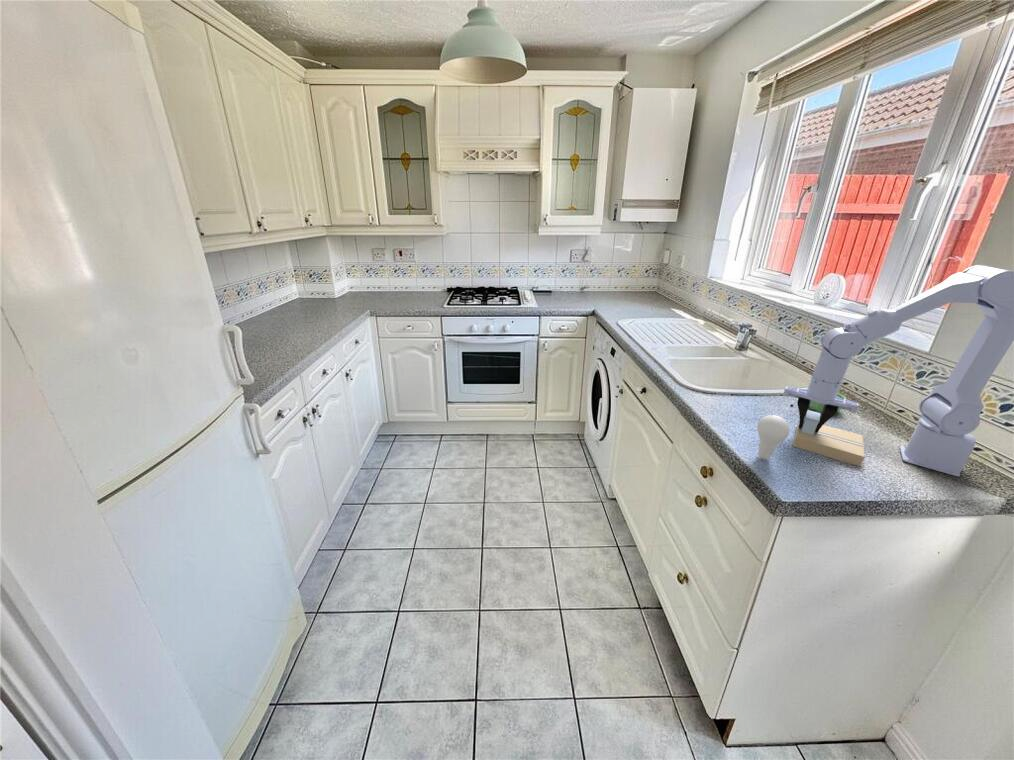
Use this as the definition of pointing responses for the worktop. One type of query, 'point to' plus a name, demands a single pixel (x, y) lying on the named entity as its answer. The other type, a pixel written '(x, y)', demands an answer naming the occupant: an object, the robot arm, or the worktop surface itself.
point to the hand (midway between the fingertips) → (808, 428)
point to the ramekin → (819, 406)
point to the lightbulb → (771, 434)
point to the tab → (810, 422)
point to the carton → (832, 444)
